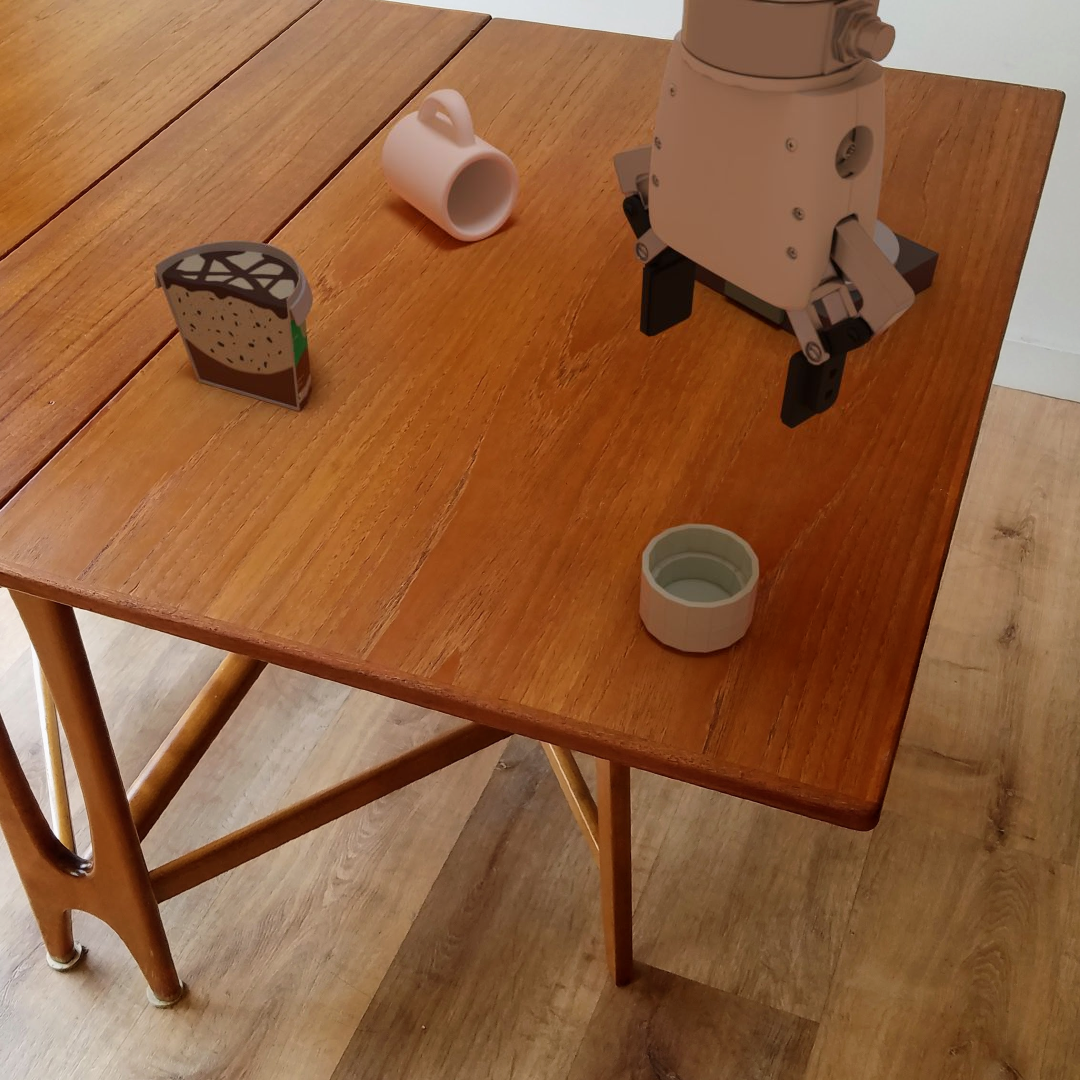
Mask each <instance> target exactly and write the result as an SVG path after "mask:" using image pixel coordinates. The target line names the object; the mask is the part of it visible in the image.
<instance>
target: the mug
mask: <svg viewBox="0 0 1080 1080" xmlns="http://www.w3.org/2000/svg"><path fill="white" fill-rule="evenodd" d="M440 106H441V108H443V110H444V111H445V112H446V114H447V115H446V114H445V113H442V112H441V111H439V108H440ZM380 165H381V166H380V167H381V172H382V176H383V178H384V180H385V182H386V184H387V185H388V187H389V188H390V189H391V191H393V192H394V193H395V194H396V195H398V196H399V197H400V198H402V199H403V200H404V201H405V202H407V203H408V204H409V205H411V207H413V208H415V209H416V210H417V211H419V212H420V213H421V214H423V215H424V216H425V217H427V218H428V219H429V220H430V221H432V222H433V223H434V224H436V225H437V226H438V227H440V228H441V230H443V231H445V232H447V234H449V235H450V236H452V238H454V239H457V240H459V241H462V242H476V241H481V240H483V239H485V238H488V237H490V236H492V235H493V234H495V233H496V232H497V231H498V230H499V229H500V228H502V226H504V224H505V223H506V222H507V220H508V219H509V217H510V216H511V214H512V212H513V211H514V209H515V206H516V203H517V200H518V196H519V189H520V181H519V174H518V170H517V168H516V165H515V164H514V162H513V160H511V158H510V157H509V155H507V154H506V153H504V152H502V151H501V150H499V149H498V148H497V147H495V146H493V145H491V144H490V143H488V142H487V141H486V140H484V139H483V138H481V137H479V136H478V135H476V134H475V128H474V123H473V119H472V115H471V112H470V110H469V106H468V104H467V102H466V100H465V98H464V97H463V96H462V94H461V92H459V91H457V90H455V89H451V88H443V89H442V88H441V89H438V90H435V91H433V92H431V93H430V94H428V95H427V96H426V97H425V98H424V99H423V100H422V102H421V103H420V105H419V107H418V110H415V111H412V112H410V113H408V114H407V115H405V116H403V117H402V118H400V120H398V122H397V123H395V125H394V126H393V127H392V128H391V129H390V131H389V133H388V134H387V137H386V139H385V141H384V144H383V147H382V150H381V157H380Z"/></svg>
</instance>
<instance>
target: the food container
mask: <svg viewBox="0 0 1080 1080" xmlns="http://www.w3.org/2000/svg"><path fill="white" fill-rule="evenodd" d="M154 268H155V271H153V272H154V283H155V289H157V290H160V289H161V288H162V290H163V293H164V296H165V298H166V300H167V304H168V306H169V308H170V312H171V314H172V316H173V319H174V322H175V325H176V327H177V330H178V333H179V336H180V337H181V341H182V343H183V345H184V348H185V351H186V354H187V356H188V359H189V361H190V364H191V367H192V369H193V372H194V375H195V377H196V380H197V382H198V383H200V384H203V385H208V386H211V387H215V388H217V389H222V390H225V391H228V392H232V393H234V394H239V395H242V396H245V397H249V398H251V399H255V400H259V401H261V402H266V403H269V404H271V405H275V406H279V407H281V408H285V409H289V410H293V411H296V412H299V413H301V411H303V409H304V408H305V407H306V406H307V404H308V402H309V399H310V396H311V393H312V390H313V388H312V377H311V366H310V353H309V342H308V331H307V318H308V316H309V314H310V312H311V309H312V307H313V302H314V300H313V299H314V296H313V291H312V288H311V286H310V283H309V281H308V278H307V276H306V274H305V272H304V270H303V269H302V267H301V265H299V264H298V263H297V261H296V259H295V258H293V256H292V255H291V254H289V253H287V252H286V251H285V250H283V249H281V248H279V247H277V246H275V245H271V244H268V243H263V242H258V241H253V240H251V241H250V240H223V241H222V240H221V241H214V242H208V243H207V242H206V243H203V244H199V245H195V246H191V247H189V248H186V249H183V250H180V251H178V252H175V253H173V254H171V255H169V256H168V257H166V258H163V259H162V260H161V261H159V262H157V263H156V264H154Z"/></svg>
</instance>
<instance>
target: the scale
mask: <svg viewBox="0 0 1080 1080" xmlns="http://www.w3.org/2000/svg"><path fill="white" fill-rule="evenodd" d="M873 241H874V242H875V244H876V245H877V246H878V247H879V249H880V250H881V251H882V252H883V254H884V255H885V256H886V257H887V258H888V260H889V261H890V262H891V263H892V265H893V266H894V267H895V268H896V270H897V271H898V272H899V273H900V274H901V276H902V277H903V278H904V279H905V281H906V282H907V283H908V284H909V286H910V287H911V288H912V290H913V291H914V294H915V295H918V294H919V293H921V292H922V291H923V290H925V289H928V288H929V287H931V286H932V285H933V280H934V276H935V272H936V269H937V265H938V260H939V256H940V253H938V251H935V250H933V249H931V248H929V247H926V246H925V245H922V244H920V243H918V242H915V241H914V240H912V239H909V238H908V237H905V236H903V235H901V234H898V233H896V232H894V231H892V230H891V229H890V227H888V226H887V225H886V224H885V223H883V222H882V221H880V220H879V219H878V218H877V219H876V226H875V231H874V237H873ZM695 280H696V281H698V282H699V283H701V284H703V285H705V286H707V287H708V288H710V289H711V290H714V291H716V292H717V293H719V294H721V295H723V296H724V297H726V298H728V299H730V300H731V301H733V302H734V303H736V304H738V305H740V306H742V307H744V308H745V309H747V310H749V311H751V312H752V313H754V314H756V315H758V316H760V317H761V318H763V319H764V320H766V321H769V322H770V323H772V324H773V325H776V326H778V327H779V328H781V329H783V330H784V331H786V332H788V333H790V334H791V335H793V336H795V337H797V336H796V334H795V332H794V329H793V327H792V324H791V322H790V319H789V317H788V315H787V312H786V310H785V309H782V308H779V307H776V306H774V305H772V304H770V303H768V302H766V301H764V300H762V299H760V298H758V297H756V296H755V295H753V294H751V293H749V292H747V291H745V290H744V289H742V288H740V287H738V286H736V285H735V284H733V283H731V282H729V281H728V280H726V279H724V278H722V277H720V276H719V275H717V274H715V273H713V272H712V271H710V270H708V269H707V268H705V267H703V266H701V265H700V264H698V263H696V272H695ZM845 283H846V286H847V288H848V291H849V293H850V296H851V298H852V301H853V303H854V306H855V308H856V311H857V313H858V311H859V310H860V309H861V308H862V306H863V298H862V296H861V294H860V292H859V291H858V290H857V289H856V287H855V286H854V285H853V284H852V282H846V281H845ZM812 304H814V307H815V309H816V312H817V314H818V317H819V319H820V321H821V324H822V326H823V329H826V328H828V327H830V326H832V324H831V321H830V319H829V316H828V314H827V311H826V309H825V306H824V304H823V301H822V299H820V300H818V301H816V302H814V303H812Z"/></svg>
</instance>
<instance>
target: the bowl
mask: <svg viewBox="0 0 1080 1080" xmlns="http://www.w3.org/2000/svg"><path fill="white" fill-rule="evenodd" d="M640 573H641V574H640V587H639V588H640V591H639V607H638V609H639V612H638V613H639V616H640V619H641V620H642V622H643V624H644V626H645V628H646V630H647V631H648V633H650V634H651V635H652V636H654V638H656V639H657V640H658V641H659V642H661V643H662V644H664V645H666V646H669V647H671V648H673V649H676V650H679V651H682V652H687V653H688V652H691V653H705V654H706V653H710V652H714V651H718V650H722V649H725V648H729V647H730V646H732V645H734V643H736V642H737V641H739V640H740V639H741V638H743V637H744V636H745V635H746V633H747V631H748V629H749V627H750V626H751V623H752V621H753V616H754V611H755V604H756V598H757V592H758V587H759V579H760V565H759V558H758V556H757V555H756V553H755V551H754V550H753V548H752V547H751V545H750V543H749V542H748V541H746V540H745V539H743V537H740V536H739V535H738V534H736V533H735V532H734V531H732V530H728V529H726V528H722V527H720V526H717V525H714V524H705V523H686V524H681V525H677V526H673V527H669V528H666V529H665V530H663V531H661V533H658V534H657V535H655V536H654V537H652V538H651V540H650V541H649V542H648V544H647V545H646V547H645V548H644V550H643V552H642V555H641V572H640Z"/></svg>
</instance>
